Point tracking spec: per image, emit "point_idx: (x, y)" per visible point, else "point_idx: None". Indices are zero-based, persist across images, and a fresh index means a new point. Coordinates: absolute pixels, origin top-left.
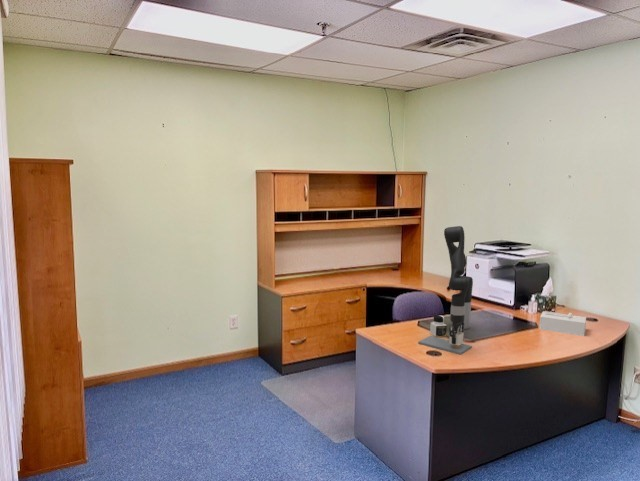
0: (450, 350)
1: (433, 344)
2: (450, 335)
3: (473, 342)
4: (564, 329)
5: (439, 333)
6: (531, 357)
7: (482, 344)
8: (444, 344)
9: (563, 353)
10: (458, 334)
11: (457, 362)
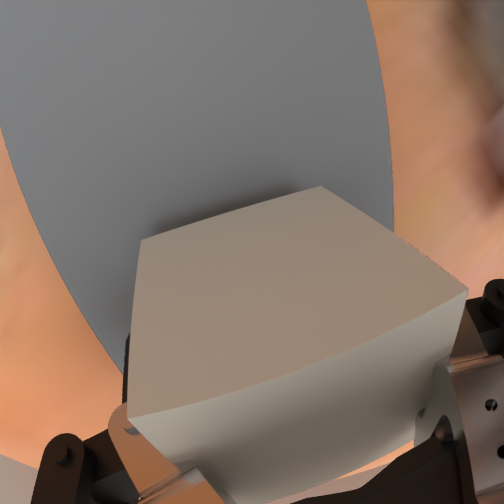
0: (83, 306)
1: (17, 31)
2: (56, 472)
3: (488, 208)
4: None
5: None
6: (410, 444)
7: (480, 271)
8: (160, 100)
9: None
10: (251, 499)
11: (32, 436)
